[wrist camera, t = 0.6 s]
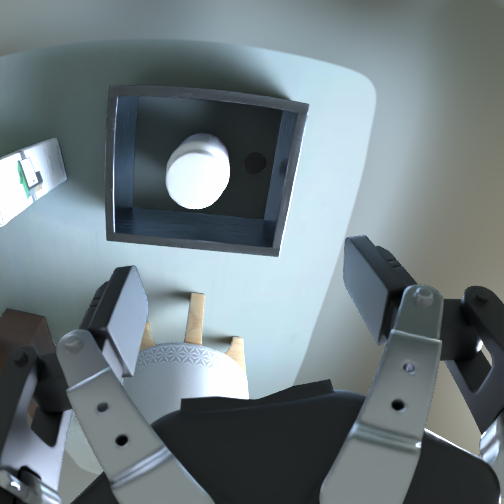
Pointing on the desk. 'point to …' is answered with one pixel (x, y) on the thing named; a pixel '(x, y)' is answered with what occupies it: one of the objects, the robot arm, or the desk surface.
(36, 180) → the ink box
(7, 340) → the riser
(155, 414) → the planter
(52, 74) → the desk surface
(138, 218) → the storage box
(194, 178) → the pill bottle
